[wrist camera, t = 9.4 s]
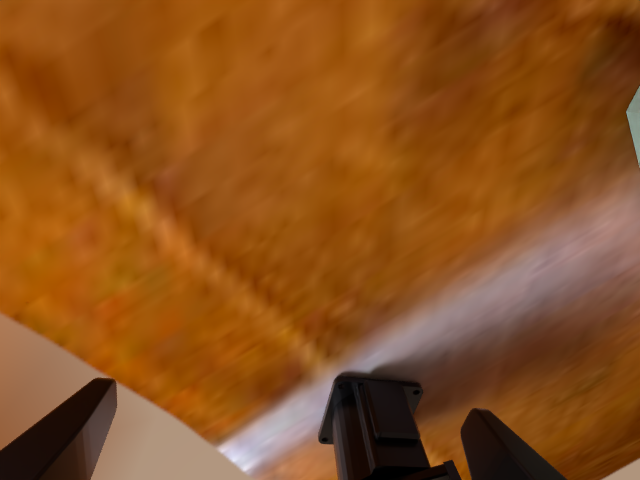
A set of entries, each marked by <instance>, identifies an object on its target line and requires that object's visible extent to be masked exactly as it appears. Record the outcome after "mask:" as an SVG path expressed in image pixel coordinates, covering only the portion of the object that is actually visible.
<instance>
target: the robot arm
mask: <svg viewBox="0 0 640 480" xmlns="http://www.w3.org/2000/svg"><path fill="white" fill-rule="evenodd" d="M339 384H341V385H339ZM116 391H117V390H116V381H115V380H114V379H110V378H95V379H93V380H92V381H91V382H89V383H88V384H87V385H85V386H84V387H83V388H81V389H80V390H79V391H77V392H76V393H75V394H74V395H72V396H71V397H70V398H68V399H67V400H66V401H64V402H63V403H62V404H60V405H59V406H58V407H56V408H55V409H54V410H53V411H51V412H50V413H49V414H47V415H46V416H45V417H43V418H42V419H41V420H40V421H38V422H37V423H36V424H34V425H33V426H32V427H30V428H29V429H28V430H26V431H25V432H24V433H22V434H21V435H20V436H19V437H17V438H16V439H15V440H13V441H12V442H11V443H9V444H8V445H7V446H5V447H4V448H3V449H2V450H0V480H90V479H91V476H92V474H93V471H94V469H95V466H96V463H97V461H98V458H99V455H100V453H101V450H102V447H103V445H104V442H105V439H106V437H107V434H108V431H109V429H110V426H111V423H112V420H113V418H114V415H115V412H116V408H117V392H116ZM422 394H423V389H422V387H421V385H420V384H419V383H412V382H400V381H388V380H376V379H364V378H352V377H337V378H336V379H335V380H334V382H333V385H332V388H331V392H330V395H329V399H328V402H327V406H326V409H325V413H324V416H323V420H322V423H321V427H320V430H319V433H318V439H319V442H320V443H322V444H334V451H335V459H336V467H337V475H338V480H461V477H460V475H459V473H458V471H457V469H456V467H455V465H454V462H453V460H449V461H446V462H443V463H444V464H442V465H438V466H435V467H430V464H429V461H428V458H427V455H426V453H425V450H424V447H423V444H422V441H421V439H420V433H419V430H418V427H417V425H416V422H415V419H414V416H413V414H414V412H415V410H416V407H417V405H418V403H419V401H420V398H421V396H422ZM461 440H462V444H463V448H464V451H465V455H466V459H467V463H468V467H469V471H470V475H471V479H472V480H567V479H566V478H565V477H564V476H563V475H562V474H560V473H559V472H558V471H557V470H556V469H555V468H554V467H553V466H551V465H550V464H549V463H548V462H547V461H546V460H545V459H544V458H542V457H541V456H540V455H539V454H538V453H537V452H536V451H535V450H533V449H532V448H531V447H530V446H529V445H528V444H527V443H526V442H524V441H523V440H522V439H521V438H520V437H519V436H518V435H517V434H515V433H514V432H513V431H512V430H511V429H510V428H509V427H508V426H506V425H505V424H504V423H503V422H502V421H501V420H500V419H499V418H497V417H496V416H495V415H494V414H493V413H492V412H491V411H489V410H487V409H480V408H473V409H472V410H471V411H470V412H469V414H468V416H467V418H466V420H465V422H464V424H463V425H462V427H461Z"/></svg>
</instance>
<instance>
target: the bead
mask: <svg viewBox="0 0 640 480" xmlns="http://www.w3.org/2000/svg"><path fill="white" fill-rule="evenodd" d="M626 113H627V117H628V121H629V125H630V130H631V134H632V138H633V142H634V146H635V150H636V154H637V159H638V163H639V167H640V86H639V88H638V90H637V92H636V94H635V96H634V98H633V99H632V101H631V103H630V105H629V107H628V109H627V111H626Z"/></svg>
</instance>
